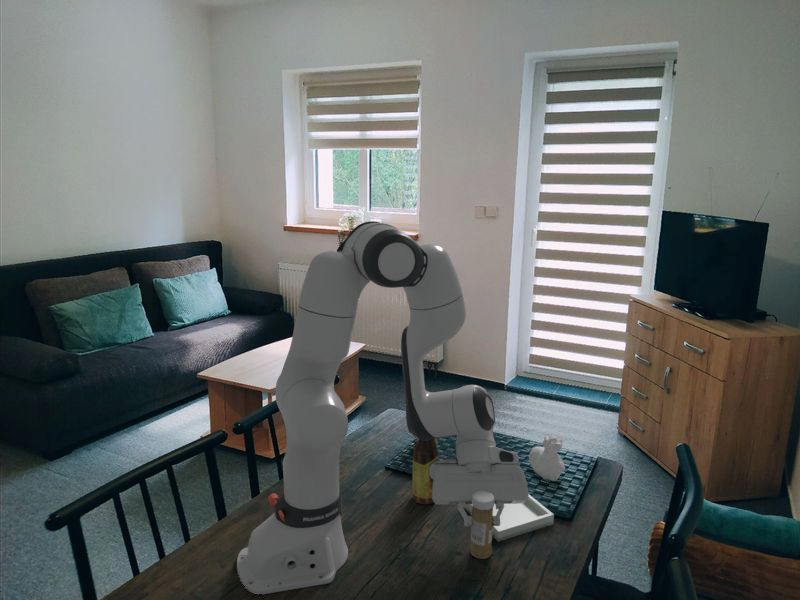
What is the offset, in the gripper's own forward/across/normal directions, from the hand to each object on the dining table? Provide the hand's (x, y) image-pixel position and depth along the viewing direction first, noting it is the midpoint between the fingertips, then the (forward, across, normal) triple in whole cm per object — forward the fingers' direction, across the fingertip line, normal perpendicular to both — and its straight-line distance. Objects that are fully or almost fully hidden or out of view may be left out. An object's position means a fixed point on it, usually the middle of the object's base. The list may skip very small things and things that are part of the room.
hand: (482, 525), depth 123 cm
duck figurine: (-18, +23, +28) cm, 41 cm away
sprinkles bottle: (+5, 0, +6) cm, 7 cm away
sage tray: (-5, +8, +15) cm, 18 cm away
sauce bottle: (-10, -10, +20) cm, 25 cm away
